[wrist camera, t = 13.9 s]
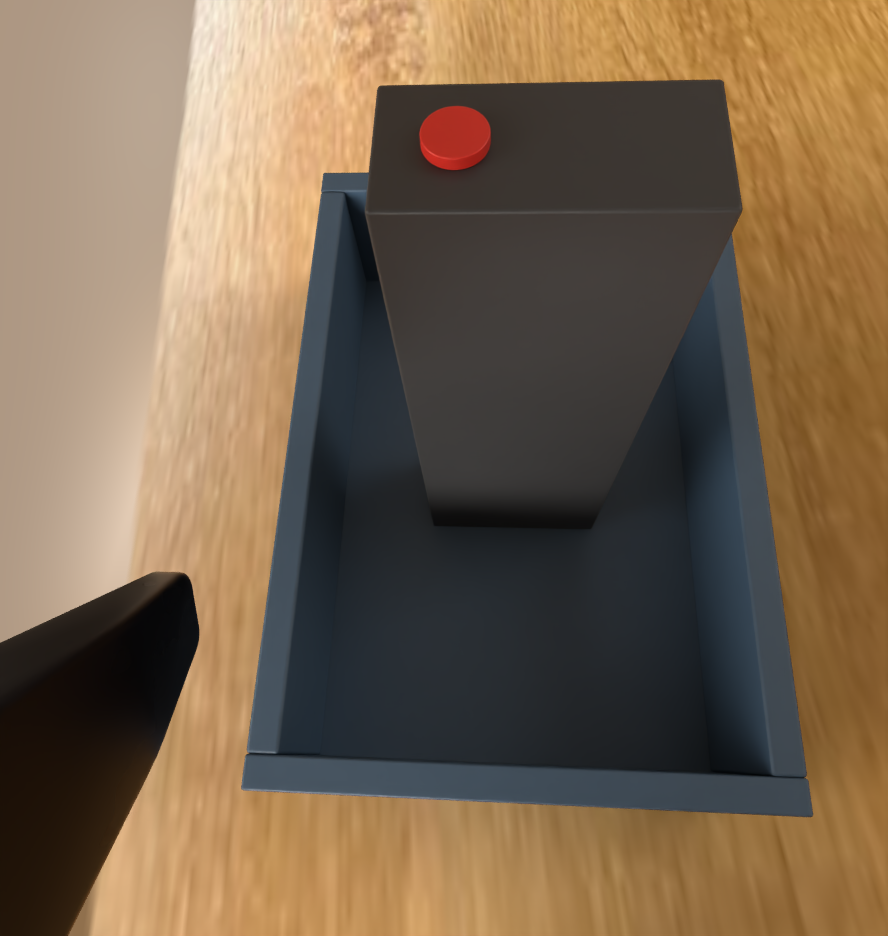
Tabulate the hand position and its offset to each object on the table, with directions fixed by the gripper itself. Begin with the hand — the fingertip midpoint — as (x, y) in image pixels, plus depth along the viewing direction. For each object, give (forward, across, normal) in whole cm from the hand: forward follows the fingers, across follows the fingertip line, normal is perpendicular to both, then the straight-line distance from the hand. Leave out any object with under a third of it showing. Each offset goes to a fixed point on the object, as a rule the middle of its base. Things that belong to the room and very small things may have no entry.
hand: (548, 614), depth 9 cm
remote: (+12, 0, +4) cm, 12 cm away
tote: (+12, 0, +4) cm, 13 cm away
